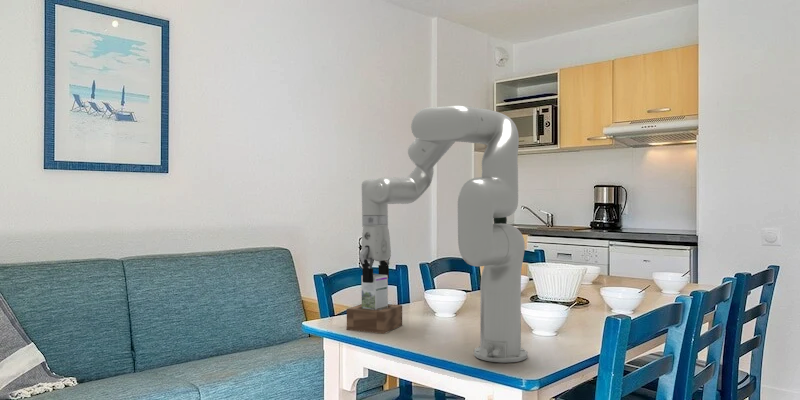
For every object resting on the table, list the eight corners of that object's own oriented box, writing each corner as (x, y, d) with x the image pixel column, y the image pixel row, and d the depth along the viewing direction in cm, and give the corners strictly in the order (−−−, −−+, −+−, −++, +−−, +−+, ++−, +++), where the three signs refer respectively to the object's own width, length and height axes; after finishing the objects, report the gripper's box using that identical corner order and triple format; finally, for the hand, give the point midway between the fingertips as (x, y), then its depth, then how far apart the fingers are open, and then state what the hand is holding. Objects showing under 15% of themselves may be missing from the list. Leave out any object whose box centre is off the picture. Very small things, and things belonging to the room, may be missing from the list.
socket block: (383, 333, 166) (383, 312, 166) (346, 329, 171) (346, 308, 171) (402, 325, 177) (402, 305, 177) (366, 321, 182) (366, 302, 182)
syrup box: (388, 324, 174) (388, 274, 174) (375, 327, 170) (375, 276, 169) (374, 321, 178) (374, 272, 178) (360, 324, 173) (360, 274, 173)
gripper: (372, 222, 164) (373, 284, 164) (399, 220, 180) (400, 277, 180) (348, 222, 168) (349, 283, 167) (377, 221, 183) (378, 276, 183)
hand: (376, 280), depth 174 cm, fingers open, 9 cm apart
